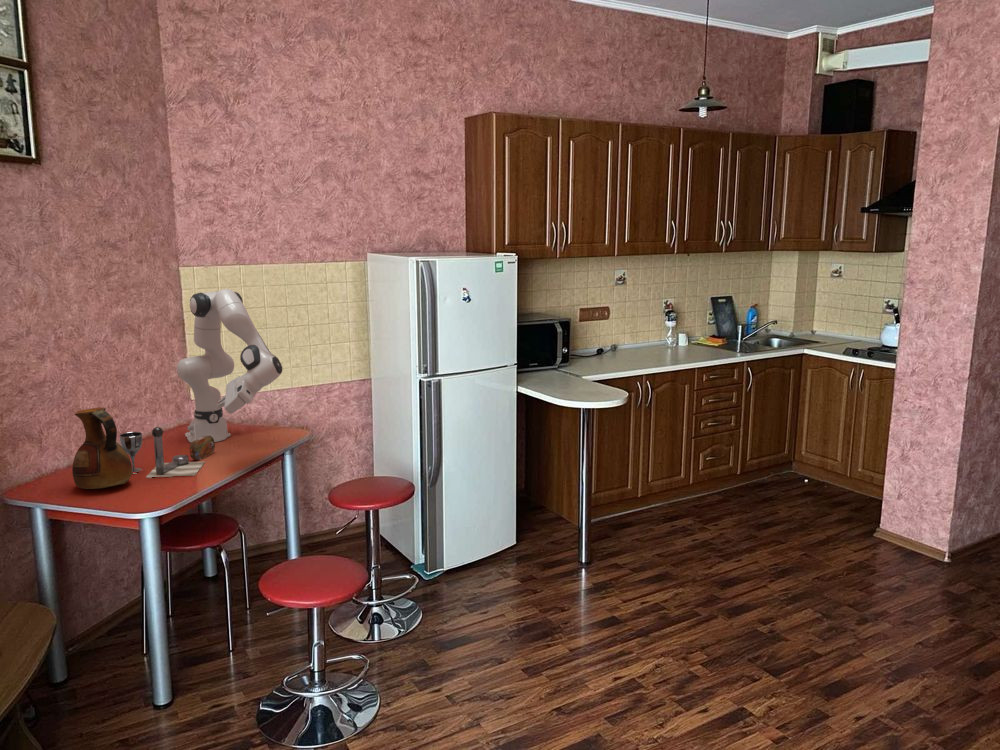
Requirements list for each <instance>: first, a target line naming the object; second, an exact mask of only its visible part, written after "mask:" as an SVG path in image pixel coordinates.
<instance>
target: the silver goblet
mask: <svg viewBox="0 0 1000 750" xmlns="http://www.w3.org/2000/svg"><path fill="white" fill-rule="evenodd" d="M119 442H120V443H119V444H120V446H122V447H123V448H124V450H125V451H126V453H127V454H128V456H129V458H130V461H131V465H132V473H133V472H139V471H141V470H142V469H143V468H142V469H141V467H135V458H136V455H137V453H138V452H139V451H140V449H141V448H142V445H143V433H142V432H140V431H129V432H123V433H121V434H119ZM139 473H140V472H139ZM133 474H134V473H133Z"/></svg>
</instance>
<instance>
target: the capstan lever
mask: <svg viewBox="0 0 1000 750" xmlns="http://www.w3.org/2000/svg"><path fill="white" fill-rule="evenodd" d="M151 434H152V436H153V446H154V462H155V467H156V474H164V473H165V472H167V471H168V470H170V469H172V468H174V467H176V466H178V465H184V464H187V463H189V462H190V459H189V455H187V454H178V455H173V456H172V460H171V461H170V462H167V463H168V464H166V465H164V463H165V459H164V458H165V457H164V446H163V445H164V443H163V434H164V429H163V428H162V427H159V426H155V427H154V428H153V429H152V430H151Z"/></svg>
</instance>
